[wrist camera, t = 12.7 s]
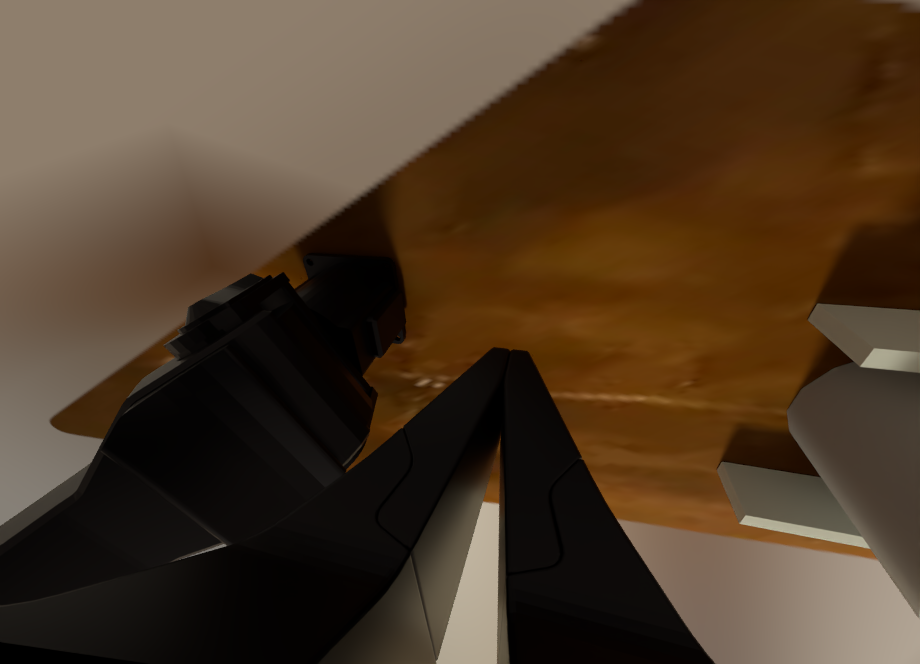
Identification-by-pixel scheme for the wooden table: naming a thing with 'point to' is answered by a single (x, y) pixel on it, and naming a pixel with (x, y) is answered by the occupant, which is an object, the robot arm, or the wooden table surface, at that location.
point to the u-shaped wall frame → (807, 497)
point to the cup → (869, 459)
